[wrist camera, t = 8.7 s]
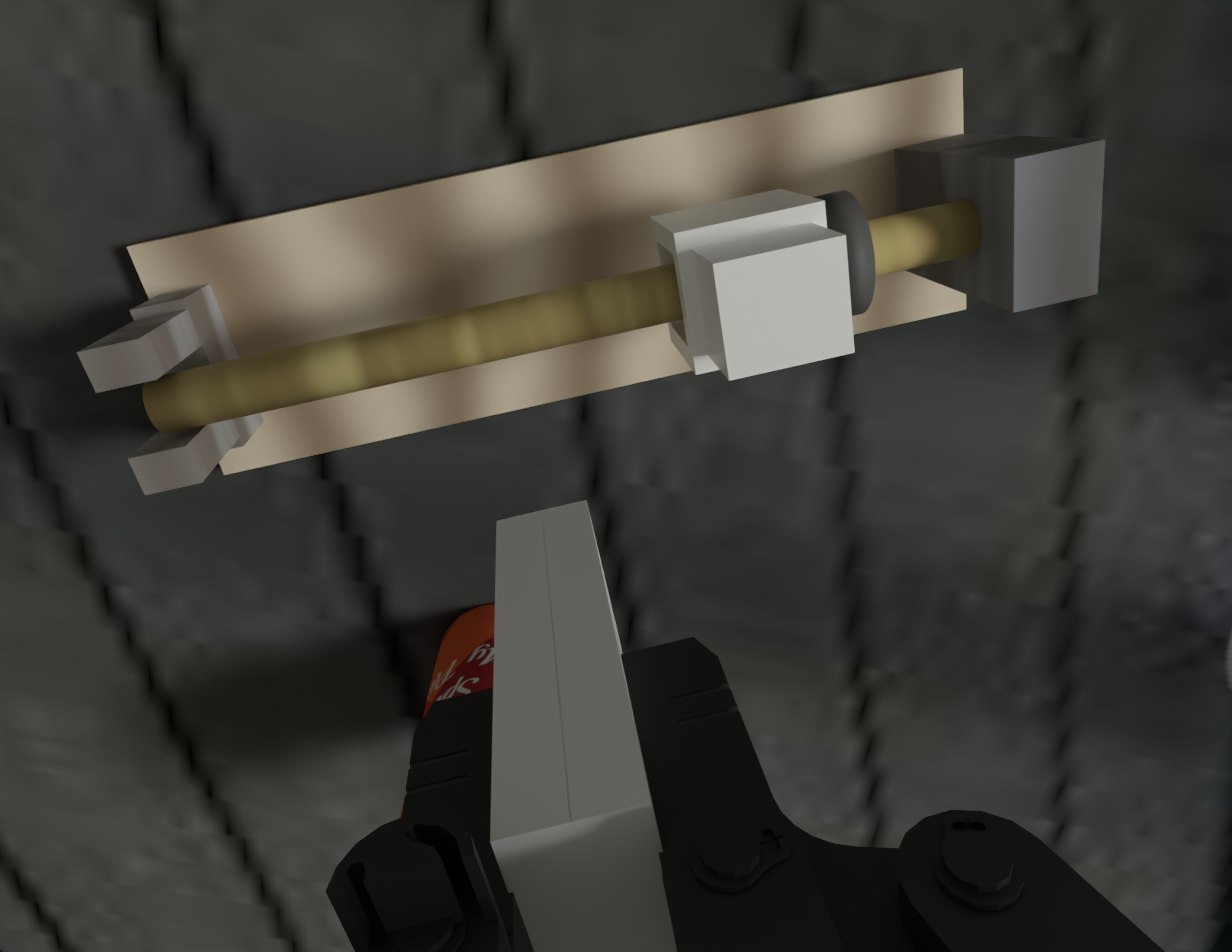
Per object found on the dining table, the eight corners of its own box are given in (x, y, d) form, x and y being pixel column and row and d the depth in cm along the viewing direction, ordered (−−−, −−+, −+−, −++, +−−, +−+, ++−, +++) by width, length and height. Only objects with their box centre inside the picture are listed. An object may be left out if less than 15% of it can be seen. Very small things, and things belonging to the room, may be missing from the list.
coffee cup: (475, 554, 41) (460, 775, 27) (608, 631, 43) (655, 867, 30) (384, 673, 43) (327, 935, 29) (516, 740, 46) (521, 1007, 32)
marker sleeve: (670, 340, 33) (716, 402, 26) (649, 216, 31) (692, 246, 24) (793, 313, 33) (871, 367, 26) (779, 188, 31) (861, 210, 24)
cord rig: (231, 466, 38) (142, 578, 28) (136, 243, 33) (-2, 290, 24) (955, 304, 39) (1094, 362, 30) (950, 69, 35) (1109, 52, 25)
